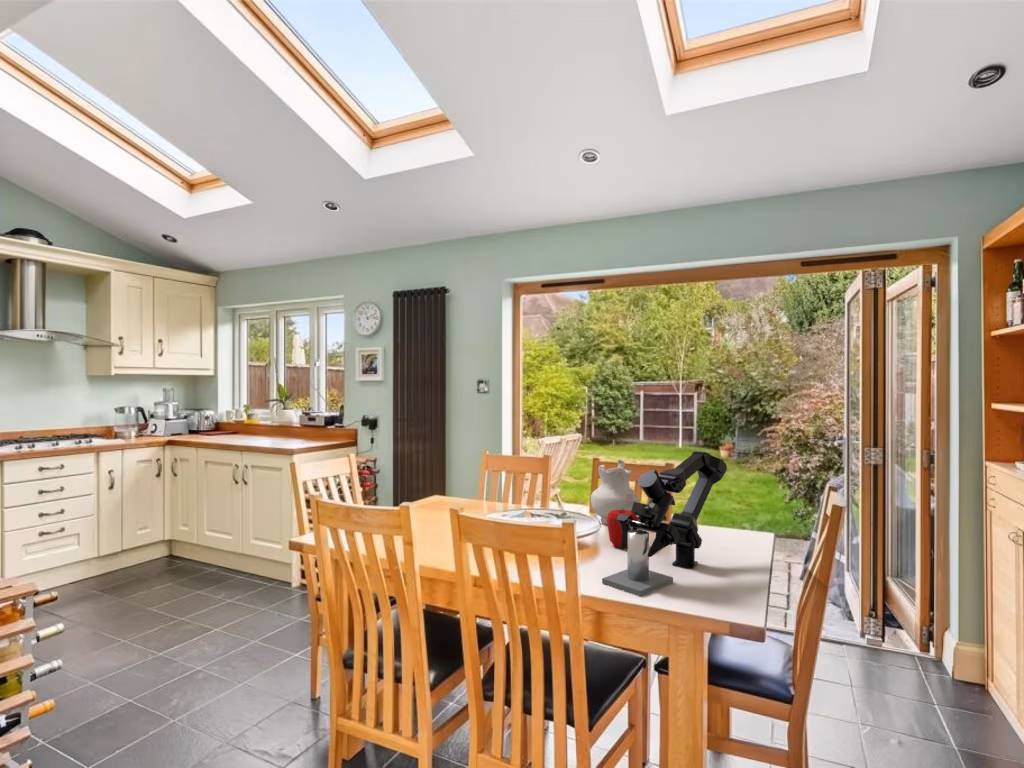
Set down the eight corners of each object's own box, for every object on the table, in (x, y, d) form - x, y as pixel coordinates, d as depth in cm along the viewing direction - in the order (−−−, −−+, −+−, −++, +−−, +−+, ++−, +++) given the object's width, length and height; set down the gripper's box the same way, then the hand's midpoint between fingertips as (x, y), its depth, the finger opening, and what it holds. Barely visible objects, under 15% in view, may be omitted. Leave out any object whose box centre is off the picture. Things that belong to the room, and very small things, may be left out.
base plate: (635, 571, 173) (635, 566, 173) (673, 582, 163) (673, 577, 163) (602, 583, 162) (602, 578, 162) (640, 596, 152) (640, 591, 152)
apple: (635, 542, 203) (635, 504, 203) (639, 551, 193) (639, 511, 193) (605, 541, 204) (606, 503, 204) (607, 550, 194) (608, 510, 194)
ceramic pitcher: (596, 516, 247) (591, 459, 247) (641, 515, 241) (637, 457, 242) (589, 529, 226) (585, 466, 226) (639, 528, 221) (634, 465, 221)
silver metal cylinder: (641, 573, 166) (642, 528, 166) (652, 580, 161) (653, 533, 161) (623, 575, 164) (623, 530, 164) (634, 582, 159) (634, 535, 159)
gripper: (620, 486, 172) (596, 529, 165) (674, 496, 158) (651, 543, 151) (635, 508, 177) (613, 551, 170) (689, 520, 163) (667, 566, 156)
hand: (635, 552), depth 161 cm, fingers open, 9 cm apart
